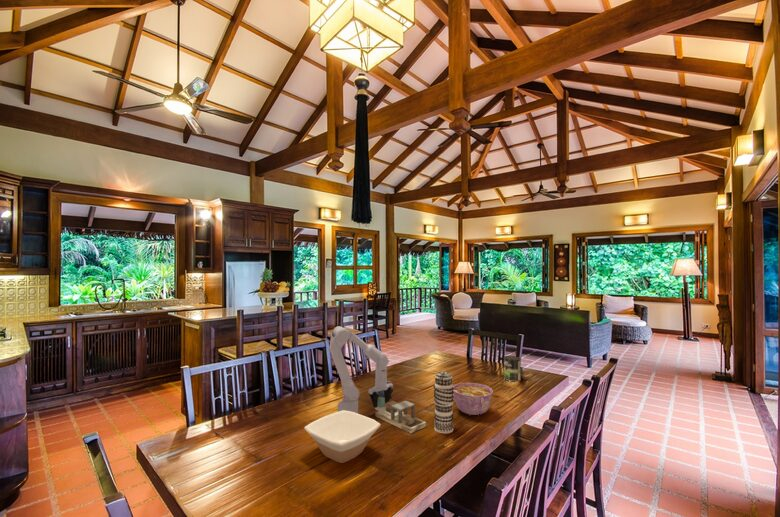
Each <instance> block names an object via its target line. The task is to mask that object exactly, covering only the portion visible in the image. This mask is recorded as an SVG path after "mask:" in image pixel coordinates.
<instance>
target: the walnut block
mask: <svg viewBox="0 0 780 517" xmlns="http://www.w3.org/2000/svg"><path fill="white" fill-rule="evenodd" d="M397 403H398V402H396V401H394V400H389V402H387V403H385V404H386V411H387V412H389V413H391V406H392V405H395V404H397ZM397 411H398V410H397V409H395V412H397Z"/></svg>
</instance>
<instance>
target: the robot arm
mask: <svg viewBox="0 0 780 517" xmlns="http://www.w3.org/2000/svg"><path fill="white" fill-rule="evenodd" d="M329 341H330V342H329V347H328V348H329V349H328V350H329V351H330V352H329V353H330V355H331V357H332V360H333V362H334V365H335V368H336V371H337V373H338V376H339V378H340V383H341V392H342V394H343V396H342V400H340V401H339V402H338V403H337V412H339V411H343V410H346V411H351V412H355V413H357V414H359V397H360V390H359V389H358V388H357V387H356V385H355V383H354V381H353V379H352V377H351V374H350V371H349V368H348V366H347V362H346V361H345V358H344V355H343V352H342V350H341V349H342V348H343V346H344V345H345V344H346V343H347V342H348V343H351V342H352V343H354V344H355V345H356V346H357V347H360V349H362V350H363V354H364V355H365V356H367V357H368V358H369V360H372V361H373V362H374V364H375V369H374V372H375V379H374V380H375V381H374V382H375V383H374V384H375V385H374V386H372V388H371V387H370V388H369V389H368V396H369V397H370V400H371V403H372V406H373V408H374V409H375V408H377V407H378V398H379V397H378V396H379V395H378V394H377V393H376V392H378V391H382V390H384V397H383V398H385V404H386V403H387V402H390V400H391V398H390V396H391V397H392V394H393V392H394V389H393V388H394V384H393V383H392V382H391V383H388V384H387V381H388V378H387V376H388V375H387V374H388V369H387V368H388V367H387V366H388V364H389V361H390V359H389V358H388V356H387V355H385V354H384V353H383V351H382V350H379V349H378V348H377V347H376V345H375V344H373V343H369V344H367V343H366V342H365V341H364V340H362V338H360V337H359V336H358V335H357V334H356V333H353V332H352V331H350V330H348V329H346V328H344V327H343V326H341V325H338V326H336V327H334V328H333V330H332V331H331V333H330V340H329Z"/></svg>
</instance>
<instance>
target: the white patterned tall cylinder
mask: <svg viewBox="0 0 780 517" xmlns="http://www.w3.org/2000/svg"><path fill="white" fill-rule="evenodd" d="M434 380H435V382H434V385H433V389H434V390H433V397H434V398H433V399H434V400H433V402H434V404H435V405H434V406H435V408H434V414H433V415H434V417H433V418H434V421H433V423H434V425H433V426H434V428H433V429H434V430H435V432H436V433H439V434H445V435H446V434H450V433H453V431H454V413H453V412H454V411H453V410H454V409H453V405H454V402H455V399H454V394H453V393H454V391H453V390H454V388H453V386H454V384H453V376H452V374H450V372H448V371H438V372H437V373H436V374H435V375H434Z"/></svg>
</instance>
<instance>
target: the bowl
mask: <svg viewBox="0 0 780 517" xmlns="http://www.w3.org/2000/svg"><path fill="white" fill-rule="evenodd" d="M380 427H381V423H380V422H379V421H376V420H375V419H373V418H370V417H368V416H366V415H363V414H360V413H358V414H357V413H355V412H351V411H346V410H343V411H339V412H338V411H337V412H332V413H330V414H327V415H324V416H322V417H320V418H317V419H316V420H314V421H312V422H310V423H309V424H307V425H305V426H304V430H305V431H306V433H308V434H309V436H310V437H311V438H313V440H314V441H315V443H316V444H317V447H318V448H319V450H320V451H321V453H322V454H323V455H324V456H325V457H327V458H328V459H330V460H332V461H334V462H337V463H339V464H343V463H346V462H349V461H351V460H353V459H355V458H356V457H358V456H359V455H361V454H362V453H363V452H364V449H365V448H366V446H367V445H368V443H369V441H370V439H371V437H372V436H373V434H374V433H375V432H377V430H378V429H379V428H380Z"/></svg>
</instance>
